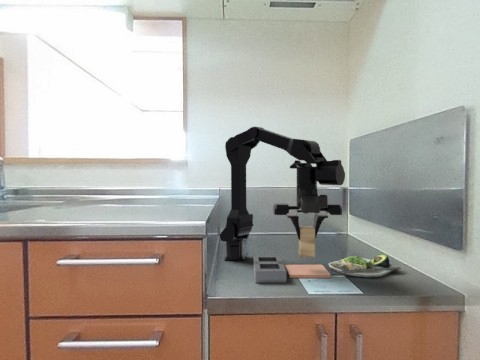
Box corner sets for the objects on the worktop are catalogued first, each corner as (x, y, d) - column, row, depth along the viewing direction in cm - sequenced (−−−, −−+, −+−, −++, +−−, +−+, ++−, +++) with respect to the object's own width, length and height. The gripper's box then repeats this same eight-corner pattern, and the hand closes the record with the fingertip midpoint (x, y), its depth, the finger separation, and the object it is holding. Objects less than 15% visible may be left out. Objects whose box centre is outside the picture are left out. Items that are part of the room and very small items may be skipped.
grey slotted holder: (253, 265, 114) (253, 255, 114) (279, 265, 114) (279, 255, 114) (255, 282, 96) (255, 271, 96) (286, 282, 96) (286, 271, 96)
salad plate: (368, 285, 95) (368, 267, 94) (314, 271, 108) (314, 255, 108) (407, 272, 107) (407, 256, 106) (353, 261, 121) (353, 247, 120)
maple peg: (298, 253, 108) (298, 226, 108) (312, 253, 108) (312, 226, 108) (300, 256, 104) (300, 228, 104) (314, 256, 104) (315, 228, 104)
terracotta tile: (285, 267, 112) (285, 264, 112) (322, 267, 111) (322, 264, 111) (290, 277, 101) (290, 274, 101) (330, 277, 100) (330, 274, 100)
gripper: (276, 185, 97) (276, 245, 98) (347, 185, 97) (347, 245, 98) (272, 184, 109) (272, 237, 109) (336, 184, 109) (336, 237, 109)
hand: (306, 239), depth 106 cm, fingers closed on maple peg, 4 cm apart
